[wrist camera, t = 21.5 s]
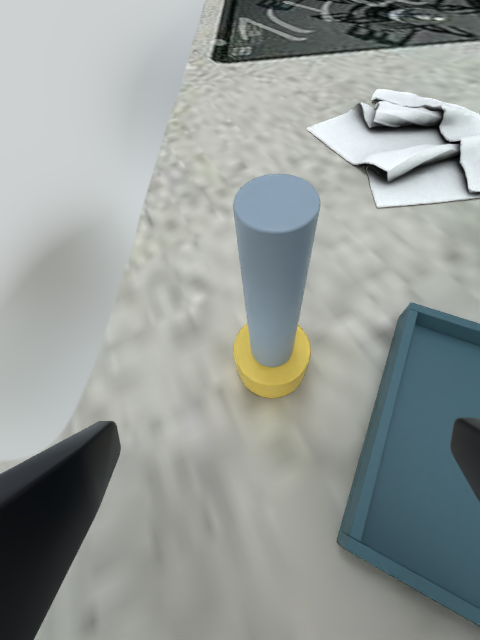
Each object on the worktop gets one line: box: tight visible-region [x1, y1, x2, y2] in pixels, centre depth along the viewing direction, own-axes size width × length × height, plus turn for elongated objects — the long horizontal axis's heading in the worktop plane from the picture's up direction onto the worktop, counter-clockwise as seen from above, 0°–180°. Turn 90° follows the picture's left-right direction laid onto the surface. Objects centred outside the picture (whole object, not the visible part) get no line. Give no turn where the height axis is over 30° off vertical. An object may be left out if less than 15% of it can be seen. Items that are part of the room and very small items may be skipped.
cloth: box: [307, 89, 480, 208], centre depth 31 cm, size 20×22×2 cm
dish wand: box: [233, 174, 320, 398], centre depth 15 cm, size 5×5×14 cm
